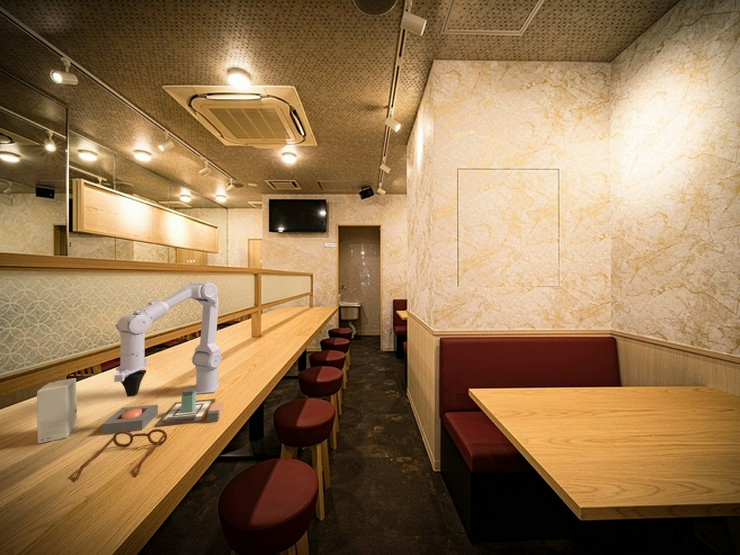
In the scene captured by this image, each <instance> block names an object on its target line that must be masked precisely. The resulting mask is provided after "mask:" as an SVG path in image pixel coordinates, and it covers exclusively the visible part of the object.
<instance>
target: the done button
mask: <svg viewBox="0 0 740 555" xmlns="http://www.w3.org/2000/svg"><path fill="white" fill-rule="evenodd" d="M141 414H142V409H131V410H128V411H125V412H124V413H122V419H128V418H138V417H139V416H140V415H141Z"/></svg>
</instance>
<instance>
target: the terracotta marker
mask: <svg viewBox="0 0 740 555" xmlns="http://www.w3.org/2000/svg"><path fill="white" fill-rule="evenodd" d="M223 412H224V401H221V402H214V403H213V404H212V406H211V408H210V409H209V411H208V414H207V420H206V421H207V423H208V424H209V423H215V422H216V423H218V422H219V421H220V419H221V416H222V414H223Z"/></svg>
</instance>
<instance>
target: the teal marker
mask: <svg viewBox="0 0 740 555" xmlns="http://www.w3.org/2000/svg"><path fill="white" fill-rule="evenodd" d="M195 389H196V387H188V388H186V387H185V389H183V391H182V395H181V402H182V404H181V413H186V412H192V411H193V410H194V409H195V407H196V401H197V397H196V396H197V394H196V392H195Z"/></svg>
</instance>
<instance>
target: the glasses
mask: <svg viewBox="0 0 740 555" xmlns="http://www.w3.org/2000/svg"><path fill="white" fill-rule="evenodd" d="M156 432H157V433H161V434H162V435H161V436H160V438H159V440H157V441H154V440H153V438H152V437H151V434H153V433H156ZM121 434H122V435H127V436H129V442H128V443H120V442H119V441H118V440H117V436H118V435H121ZM134 437H147V440H148V442H149V443H150V444H152V445H154V446H153V447H152V448H151V450H150V452H148V453H146V455H145V456H143V457H142V459H141V460H139V462H138V466H137V468H136V471H135V474H134V476H133V478H136V477H138V475H139V473H140V470H141V468H142V465H143V463H144V462H145V461H146V460H147V459H148V457H150V456H151V455H152V454H153V453H154V451H155V450H156V449H157V447H158V446H159V445H162V444H164V443H165V442H166V441H167V439H168V434H167V432H166V431H165V430H164V429H161V428H156V429H151V431H149V432H148V433H146V432H142V433H141V432H139V433H138V432H137V433H134V434H133V433H132V432H131V431H128V432H127V431H120V432H117V433H114V435H113V436H112V437H111V438H110V439H109V441H108V442H106V444H105V445H104V446H102V448H101V449H99V451H98V452H97V453H96V454H95V455H94V456H93V457H91V458H89V459H87V460H86V461H84V463H83V464H81V465H80V467H79V469H78V471H77V473H76V475H75V477H74V479H73V483H76V482H78V480H79V478H80V476H81V474H82V473H83V470H84V468H85V467H86V465H88V464H90V462H92V461H94V460H96V459H97V458H98V457H99V456H100V455H101V454H102V453H103V452H104V451H105V450H106V448H108V447H109V446H110V444H111V443H112V442H113V444H114V445H116V447H129V446H130V445H131V444H132V443H133V441H134Z"/></svg>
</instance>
